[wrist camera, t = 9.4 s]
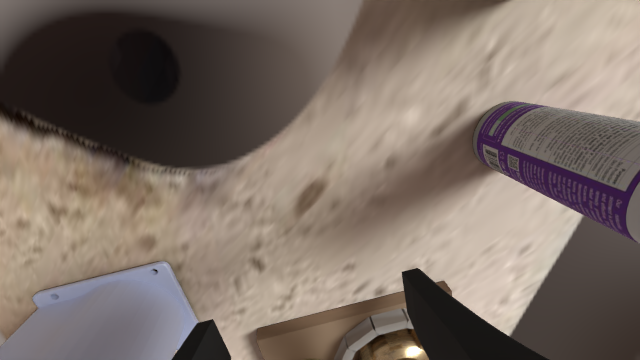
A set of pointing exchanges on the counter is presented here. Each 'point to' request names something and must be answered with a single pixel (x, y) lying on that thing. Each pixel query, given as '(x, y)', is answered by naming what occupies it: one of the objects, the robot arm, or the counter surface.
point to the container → (568, 159)
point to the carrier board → (336, 330)
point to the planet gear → (394, 347)
